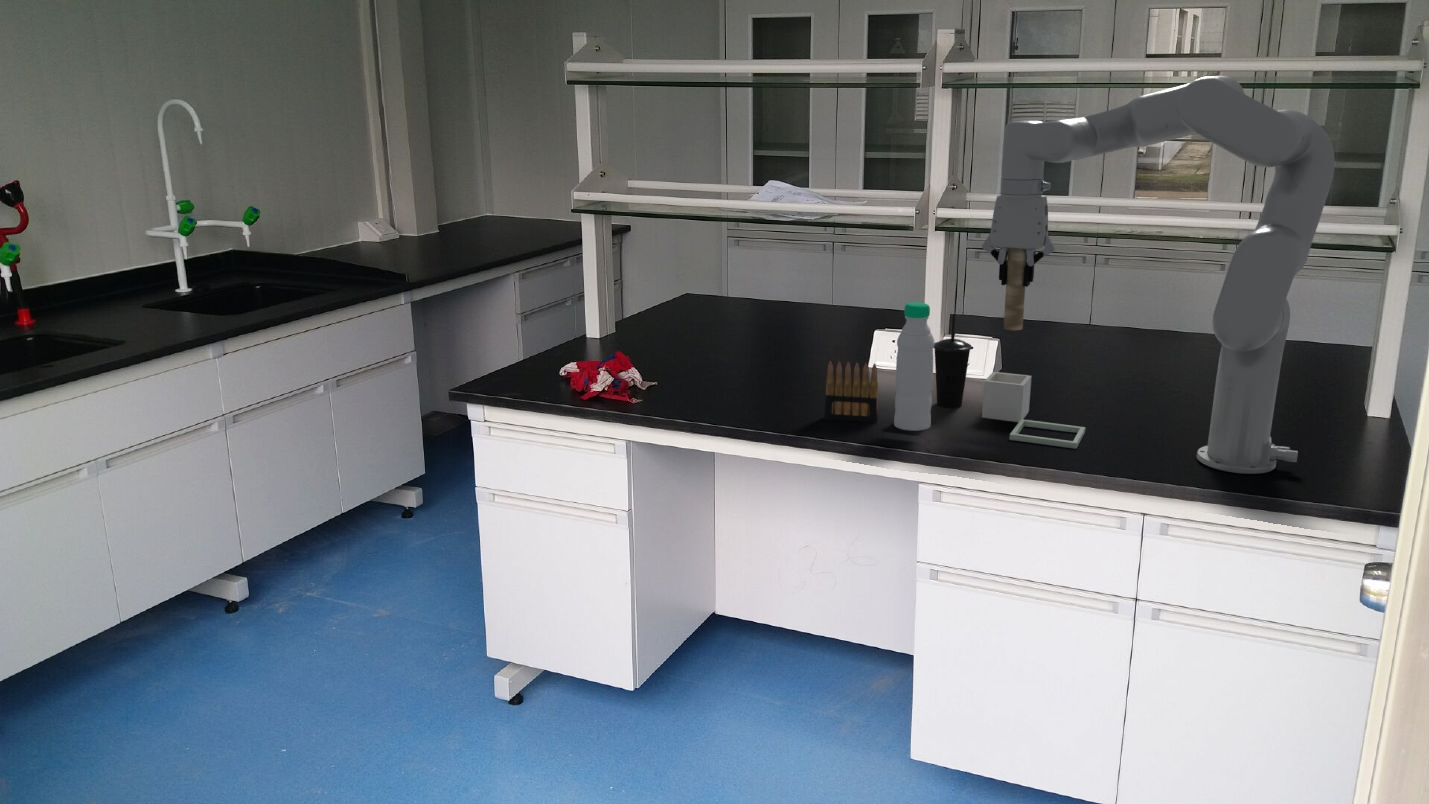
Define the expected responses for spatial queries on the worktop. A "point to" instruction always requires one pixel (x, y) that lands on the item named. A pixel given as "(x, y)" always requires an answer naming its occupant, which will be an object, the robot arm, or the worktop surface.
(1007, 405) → the holder
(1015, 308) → the dowel
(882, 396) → the worktop surface
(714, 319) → the worktop surface
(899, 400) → the water bottle
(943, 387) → the drinking cup
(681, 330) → the worktop surface
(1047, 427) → the tray
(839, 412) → the ammunition clip
